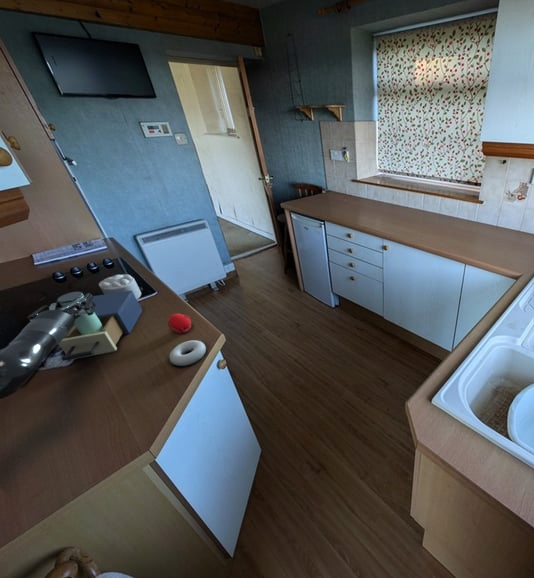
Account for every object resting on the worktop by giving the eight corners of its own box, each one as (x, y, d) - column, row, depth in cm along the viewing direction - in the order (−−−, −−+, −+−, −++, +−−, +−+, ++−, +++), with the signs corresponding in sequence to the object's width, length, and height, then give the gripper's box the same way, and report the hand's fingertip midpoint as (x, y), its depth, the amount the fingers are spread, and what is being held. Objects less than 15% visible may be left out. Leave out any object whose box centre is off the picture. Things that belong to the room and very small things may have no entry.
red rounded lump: (198, 327, 106) (192, 314, 103) (182, 337, 102) (176, 323, 98) (183, 321, 109) (177, 308, 106) (167, 330, 104) (161, 317, 101)
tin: (79, 339, 91) (53, 303, 84) (87, 329, 96) (63, 293, 88) (100, 335, 93) (77, 299, 86) (107, 325, 97) (85, 290, 90)
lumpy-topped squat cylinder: (132, 287, 129) (123, 269, 124) (147, 295, 123) (138, 277, 119) (103, 298, 121) (93, 280, 117) (118, 307, 116) (107, 289, 111)
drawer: (108, 363, 90) (96, 345, 86) (60, 373, 86) (45, 354, 82) (130, 325, 105) (120, 309, 101) (90, 332, 101) (78, 315, 98)
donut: (185, 372, 88) (214, 351, 96) (181, 364, 87) (210, 343, 94) (164, 362, 92) (193, 342, 100) (160, 354, 90) (190, 334, 98)
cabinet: (129, 333, 103) (117, 312, 98) (84, 342, 99) (69, 320, 94) (142, 310, 114) (132, 290, 110) (102, 317, 111) (89, 296, 106)
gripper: (20, 347, 77) (55, 312, 90) (88, 335, 81) (112, 303, 94) (0, 325, 73) (40, 291, 86) (73, 313, 77) (100, 283, 90)
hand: (77, 297), depth 90 cm, fingers closed on tin, 5 cm apart
